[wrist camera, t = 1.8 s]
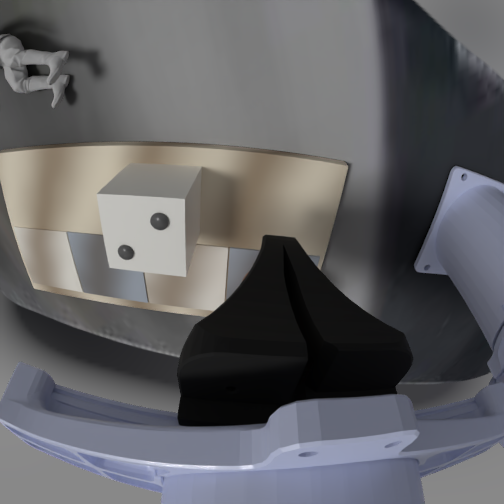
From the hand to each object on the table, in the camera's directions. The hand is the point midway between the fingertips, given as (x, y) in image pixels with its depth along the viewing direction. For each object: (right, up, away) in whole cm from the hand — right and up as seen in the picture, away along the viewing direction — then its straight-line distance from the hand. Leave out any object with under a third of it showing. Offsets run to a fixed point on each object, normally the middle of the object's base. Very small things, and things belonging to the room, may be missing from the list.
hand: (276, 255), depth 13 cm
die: (-6, +3, +3) cm, 7 cm away
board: (-8, +1, +6) cm, 10 cm away
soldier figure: (-16, +12, -2) cm, 20 cm away
